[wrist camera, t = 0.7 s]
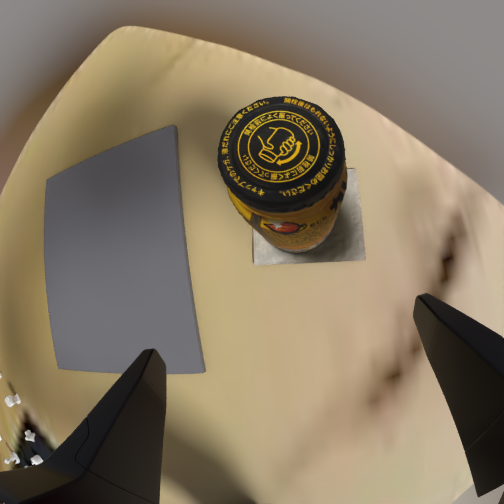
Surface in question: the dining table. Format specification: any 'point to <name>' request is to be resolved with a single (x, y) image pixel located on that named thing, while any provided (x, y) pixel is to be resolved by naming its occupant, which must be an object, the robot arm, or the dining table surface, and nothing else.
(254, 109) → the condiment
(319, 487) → the dining table surface
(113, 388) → the robot arm
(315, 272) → the dining table surface
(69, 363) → the rubber mat
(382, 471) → the dining table surface
